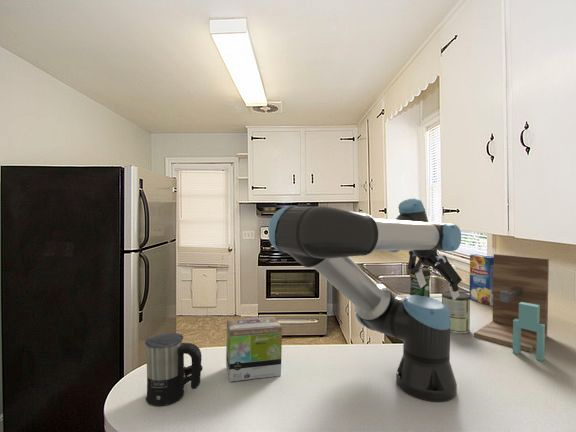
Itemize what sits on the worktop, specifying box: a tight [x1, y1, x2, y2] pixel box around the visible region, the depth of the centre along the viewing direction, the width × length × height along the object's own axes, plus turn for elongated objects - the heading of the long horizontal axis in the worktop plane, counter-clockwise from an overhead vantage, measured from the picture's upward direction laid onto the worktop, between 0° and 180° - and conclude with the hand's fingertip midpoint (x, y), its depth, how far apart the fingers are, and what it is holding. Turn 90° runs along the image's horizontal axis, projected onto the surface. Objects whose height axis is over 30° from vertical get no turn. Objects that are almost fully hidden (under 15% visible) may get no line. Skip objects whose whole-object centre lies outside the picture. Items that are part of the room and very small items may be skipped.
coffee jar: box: [409, 267, 431, 298], centre depth 168 cm, size 10×8×19 cm
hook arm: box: [500, 287, 522, 303], centre depth 125 cm, size 18×2×4 cm, turn 131°
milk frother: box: [144, 332, 204, 407], centre depth 88 cm, size 14×16×15 cm
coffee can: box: [441, 290, 471, 335], centre depth 133 cm, size 10×10×14 cm
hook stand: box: [473, 253, 550, 353], centre depth 125 cm, size 22×18×30 cm
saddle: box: [512, 302, 546, 362], centre depth 109 cm, size 3×8×17 cm, turn 41°
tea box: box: [225, 316, 283, 383], centre depth 97 cm, size 15×10×15 cm, turn 105°
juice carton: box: [468, 253, 494, 306], centre depth 173 cm, size 12×8×24 cm, turn 21°
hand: (438, 291), depth 118 cm, fingers open, 13 cm apart
